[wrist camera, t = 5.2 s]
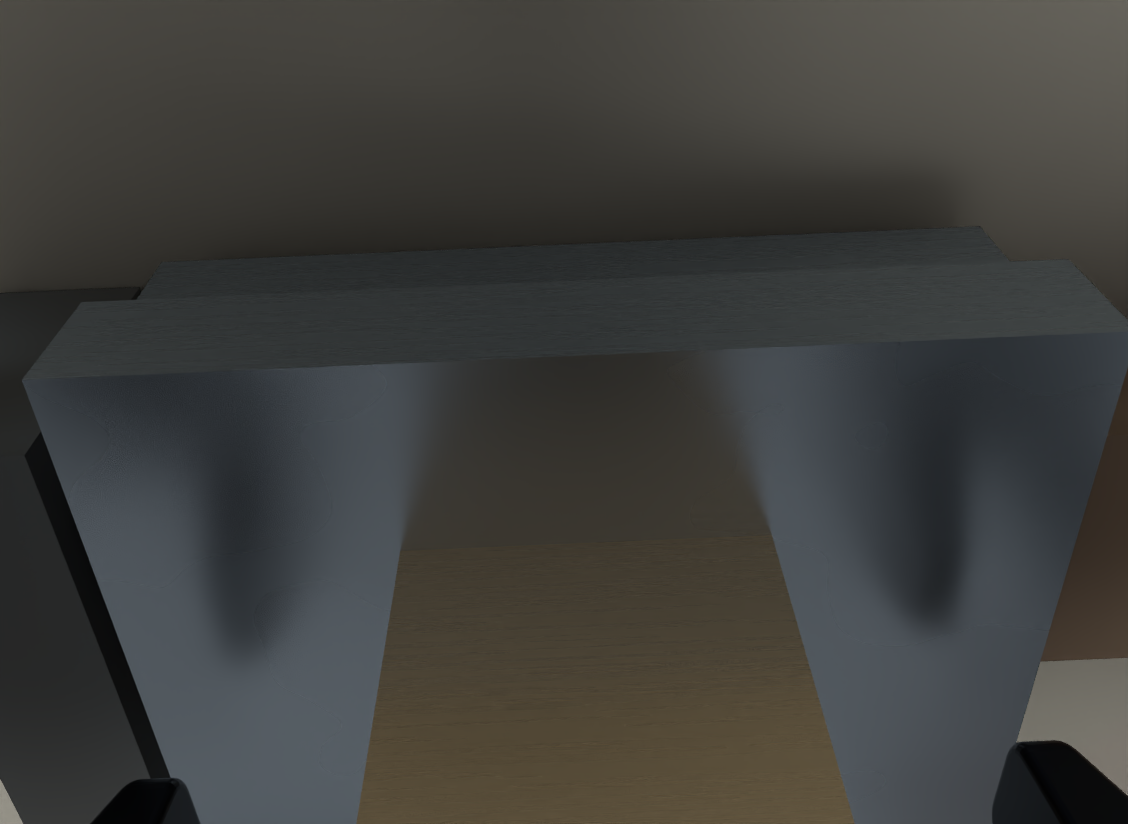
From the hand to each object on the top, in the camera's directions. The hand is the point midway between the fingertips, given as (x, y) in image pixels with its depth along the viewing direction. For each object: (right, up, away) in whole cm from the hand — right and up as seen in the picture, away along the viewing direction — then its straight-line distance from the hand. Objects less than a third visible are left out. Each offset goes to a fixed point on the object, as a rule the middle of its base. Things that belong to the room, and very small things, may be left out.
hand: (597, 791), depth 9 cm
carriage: (0, +2, +4) cm, 4 cm away
